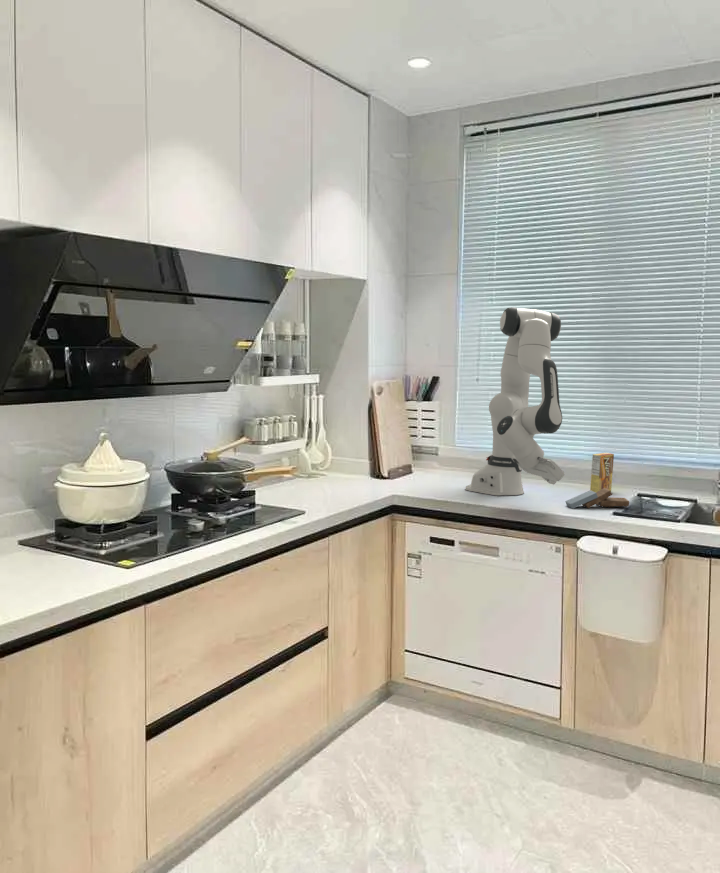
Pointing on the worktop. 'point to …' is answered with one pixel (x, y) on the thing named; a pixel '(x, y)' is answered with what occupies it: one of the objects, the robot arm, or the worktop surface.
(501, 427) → the robot arm
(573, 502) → the loose tile
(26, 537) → the worktop surface
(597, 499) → the tile
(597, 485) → the candy box
